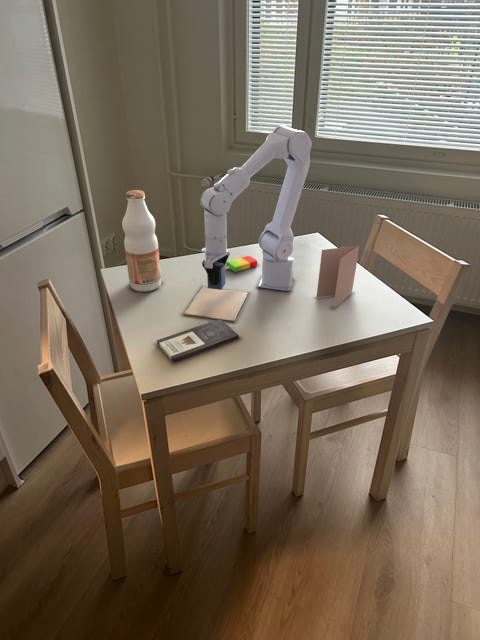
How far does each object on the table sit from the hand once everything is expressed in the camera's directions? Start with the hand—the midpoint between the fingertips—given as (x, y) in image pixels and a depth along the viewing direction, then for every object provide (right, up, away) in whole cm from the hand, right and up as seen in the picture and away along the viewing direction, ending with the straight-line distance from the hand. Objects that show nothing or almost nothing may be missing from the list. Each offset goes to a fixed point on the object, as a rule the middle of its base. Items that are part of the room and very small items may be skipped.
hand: (216, 280), depth 128 cm
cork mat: (0, -6, 0) cm, 6 cm away
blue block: (0, -1, +1) cm, 2 cm away
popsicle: (+5, +6, +19) cm, 21 cm away
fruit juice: (-22, -1, +9) cm, 24 cm away
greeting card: (+35, -5, +3) cm, 35 cm away
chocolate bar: (-4, -16, -15) cm, 23 cm away
